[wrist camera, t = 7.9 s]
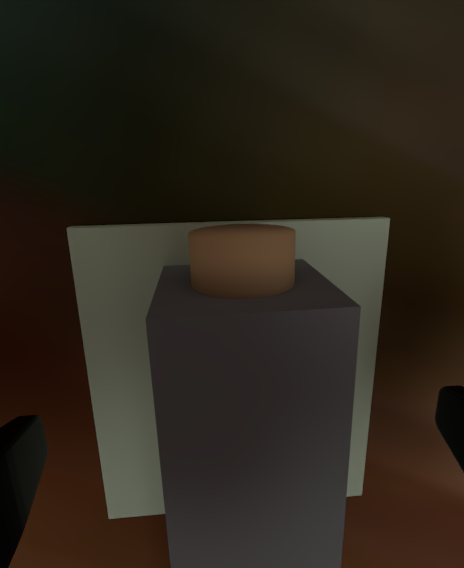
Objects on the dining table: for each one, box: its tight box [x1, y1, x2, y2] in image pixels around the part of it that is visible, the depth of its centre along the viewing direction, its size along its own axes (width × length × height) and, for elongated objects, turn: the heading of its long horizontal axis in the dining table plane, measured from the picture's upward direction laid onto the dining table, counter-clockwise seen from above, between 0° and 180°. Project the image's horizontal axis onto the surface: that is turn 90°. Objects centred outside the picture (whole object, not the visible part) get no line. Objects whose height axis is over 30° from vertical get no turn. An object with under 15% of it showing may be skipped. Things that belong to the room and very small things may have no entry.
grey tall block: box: [145, 224, 361, 568], centre depth 11 cm, size 15×4×4 cm, turn 2°
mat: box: [66, 217, 390, 519], centre depth 12 cm, size 10×9×1 cm
